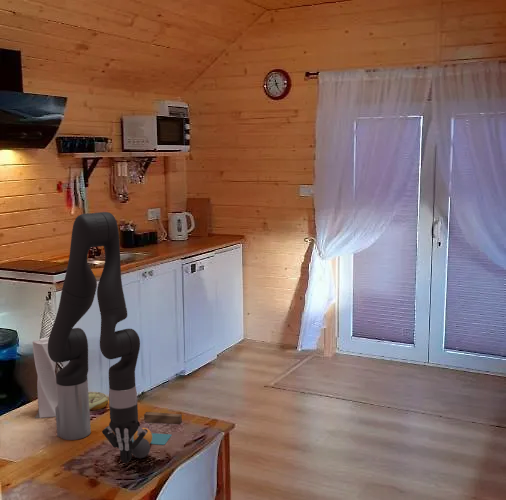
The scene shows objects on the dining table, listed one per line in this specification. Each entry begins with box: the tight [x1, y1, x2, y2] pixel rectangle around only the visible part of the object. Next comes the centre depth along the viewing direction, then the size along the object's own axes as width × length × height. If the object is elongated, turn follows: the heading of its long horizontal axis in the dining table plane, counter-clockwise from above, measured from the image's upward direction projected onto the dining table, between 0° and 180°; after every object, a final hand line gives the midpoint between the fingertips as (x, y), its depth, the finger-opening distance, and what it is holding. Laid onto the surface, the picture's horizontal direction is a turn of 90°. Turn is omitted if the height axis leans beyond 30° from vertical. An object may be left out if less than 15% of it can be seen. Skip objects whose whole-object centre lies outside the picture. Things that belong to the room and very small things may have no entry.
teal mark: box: [132, 432, 173, 446], centre depth 193 cm, size 12×7×1 cm, turn 78°
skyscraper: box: [32, 332, 58, 419], centre depth 211 cm, size 8×8×28 cm
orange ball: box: [133, 427, 153, 445], centre depth 188 cm, size 6×6×6 cm
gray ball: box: [132, 438, 151, 459], centre depth 181 cm, size 6×6×6 cm
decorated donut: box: [88, 391, 109, 411], centre depth 220 cm, size 10×11×4 cm
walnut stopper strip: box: [143, 411, 183, 425], centre depth 205 cm, size 12×2×2 cm, turn 79°
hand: (126, 461), depth 176 cm, fingers closed
